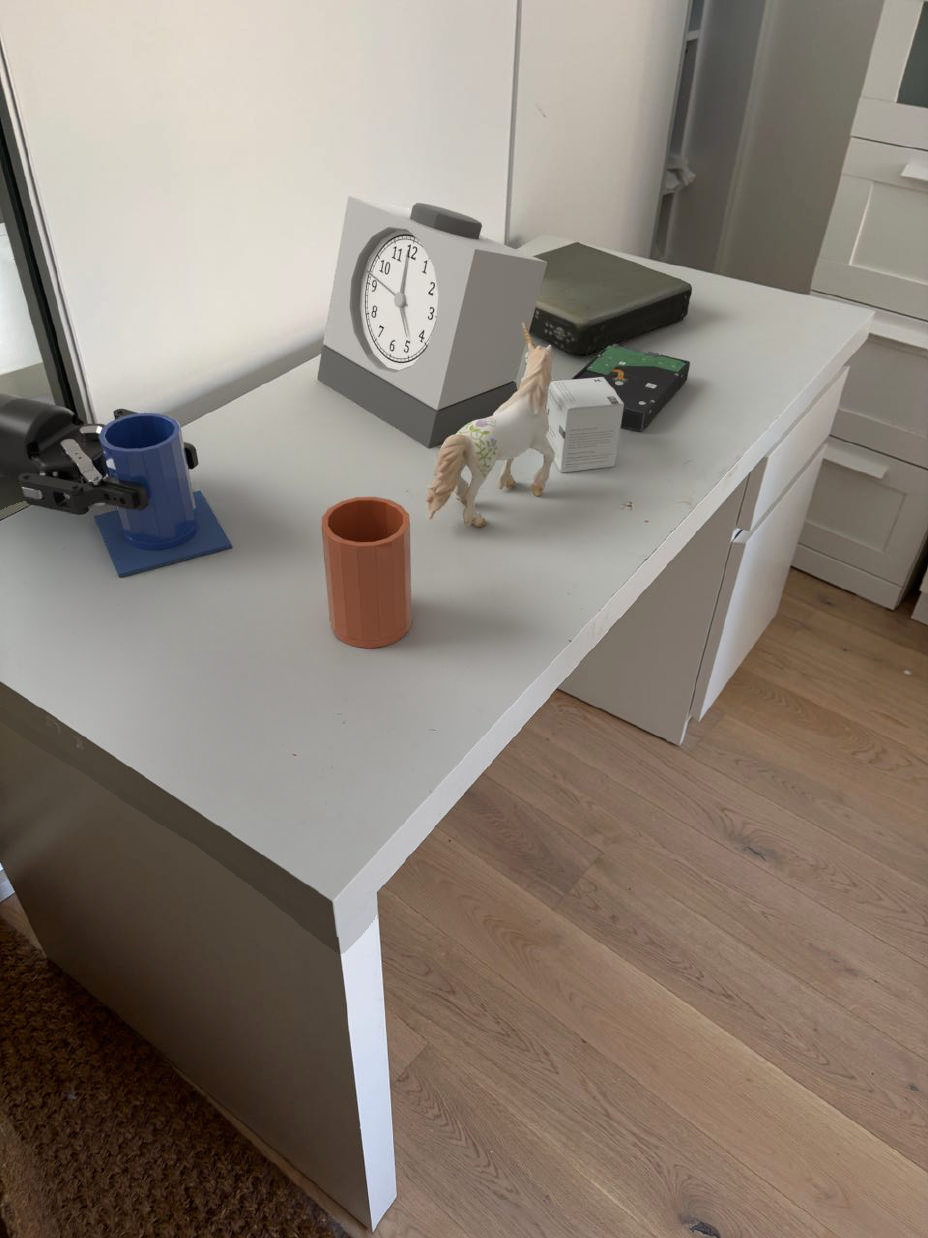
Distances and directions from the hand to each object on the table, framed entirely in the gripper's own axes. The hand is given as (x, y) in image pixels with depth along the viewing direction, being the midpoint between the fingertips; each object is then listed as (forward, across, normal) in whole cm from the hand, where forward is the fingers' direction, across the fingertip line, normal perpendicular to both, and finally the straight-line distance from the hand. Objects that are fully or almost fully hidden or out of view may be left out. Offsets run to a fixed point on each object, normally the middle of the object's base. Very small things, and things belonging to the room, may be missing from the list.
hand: (170, 477), depth 83 cm
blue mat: (-2, 0, +6) cm, 7 cm away
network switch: (+18, +64, +7) cm, 67 cm away
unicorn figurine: (+22, +19, +7) cm, 30 cm away
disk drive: (+30, +44, +7) cm, 53 cm away
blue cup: (-2, 0, +6) cm, 6 cm away
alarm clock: (+8, +36, +7) cm, 37 cm away
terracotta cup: (+21, -4, +6) cm, 22 cm away
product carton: (+29, +29, +7) cm, 41 cm away
